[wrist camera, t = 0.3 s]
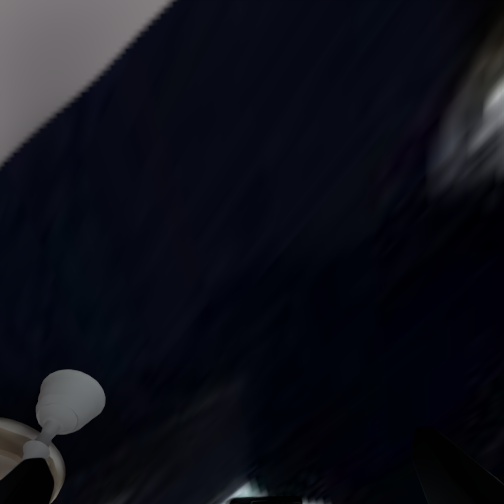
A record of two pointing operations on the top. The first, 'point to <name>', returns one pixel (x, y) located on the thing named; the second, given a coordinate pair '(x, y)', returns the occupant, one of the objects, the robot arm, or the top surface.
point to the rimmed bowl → (11, 452)
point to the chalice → (63, 408)
